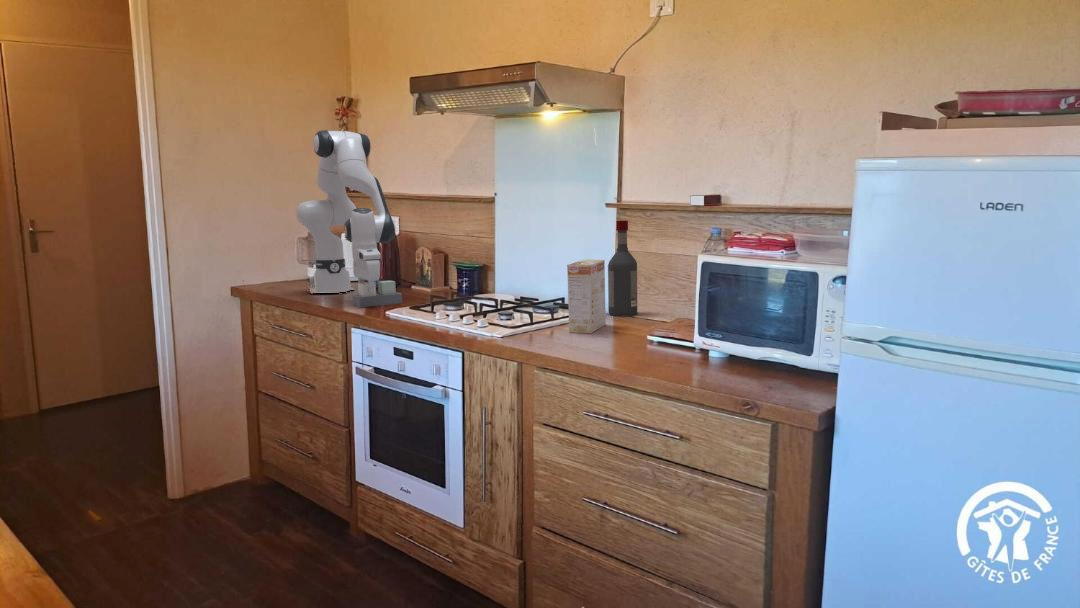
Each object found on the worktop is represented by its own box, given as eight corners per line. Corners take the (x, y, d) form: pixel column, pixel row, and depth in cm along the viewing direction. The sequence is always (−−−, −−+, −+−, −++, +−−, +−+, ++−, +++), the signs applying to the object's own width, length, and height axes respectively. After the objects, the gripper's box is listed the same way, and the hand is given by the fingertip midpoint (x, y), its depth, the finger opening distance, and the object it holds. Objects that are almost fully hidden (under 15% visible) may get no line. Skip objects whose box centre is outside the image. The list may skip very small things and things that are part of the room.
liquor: (608, 316, 240) (606, 221, 236) (609, 311, 249) (608, 220, 245) (637, 316, 239) (636, 220, 235) (637, 311, 248) (636, 219, 244)
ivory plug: (359, 304, 278) (357, 283, 277) (372, 303, 280) (371, 282, 279) (363, 306, 273) (362, 284, 272) (376, 304, 276) (375, 283, 275)
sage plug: (378, 302, 281) (377, 281, 280) (391, 301, 284) (390, 280, 283) (383, 304, 277) (382, 282, 276) (396, 303, 280) (395, 281, 278)
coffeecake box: (584, 323, 227) (582, 259, 225) (606, 324, 225) (605, 259, 222) (567, 332, 214) (566, 264, 211) (591, 333, 211) (590, 264, 208)
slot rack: (353, 306, 278) (352, 295, 278) (394, 301, 286) (394, 291, 286) (360, 308, 271) (359, 297, 270) (402, 304, 279) (402, 293, 278)
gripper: (347, 252, 281) (350, 289, 283) (365, 255, 264) (367, 294, 266) (364, 251, 284) (366, 287, 286) (382, 254, 267) (384, 293, 269)
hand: (367, 291), depth 276 cm, fingers open, 8 cm apart
